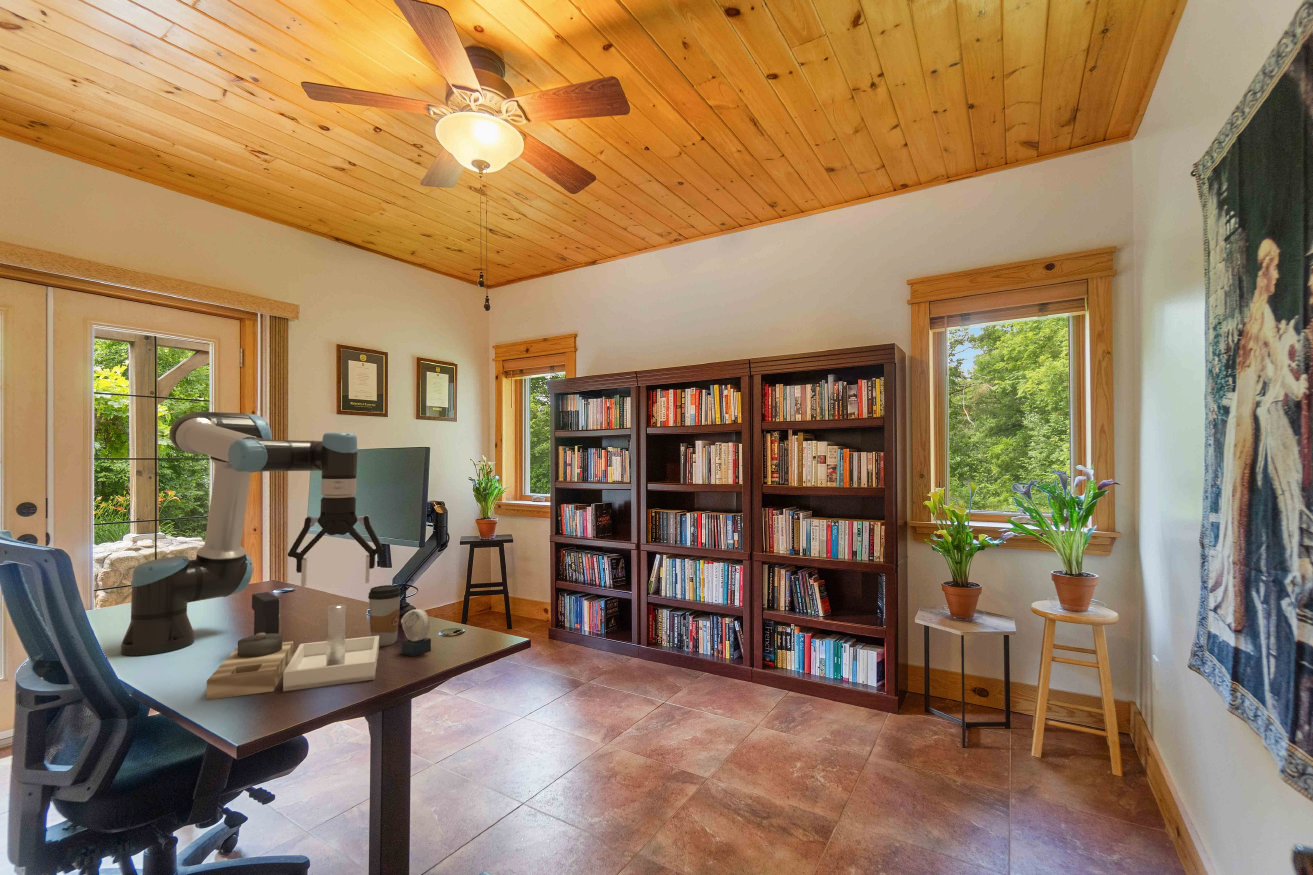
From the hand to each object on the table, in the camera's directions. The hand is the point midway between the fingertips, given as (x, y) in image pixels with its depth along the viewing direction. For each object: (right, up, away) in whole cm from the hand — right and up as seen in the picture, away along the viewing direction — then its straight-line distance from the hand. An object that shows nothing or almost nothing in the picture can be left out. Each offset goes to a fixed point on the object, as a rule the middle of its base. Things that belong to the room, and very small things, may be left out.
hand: (336, 584), depth 143 cm
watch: (+15, -21, +11) cm, 28 cm away
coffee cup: (+3, -21, +19) cm, 29 cm away
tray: (0, -20, -1) cm, 20 cm away
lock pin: (0, -19, -1) cm, 19 cm away
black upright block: (-24, -21, +11) cm, 33 cm away
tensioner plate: (-16, -20, -6) cm, 26 cm away
